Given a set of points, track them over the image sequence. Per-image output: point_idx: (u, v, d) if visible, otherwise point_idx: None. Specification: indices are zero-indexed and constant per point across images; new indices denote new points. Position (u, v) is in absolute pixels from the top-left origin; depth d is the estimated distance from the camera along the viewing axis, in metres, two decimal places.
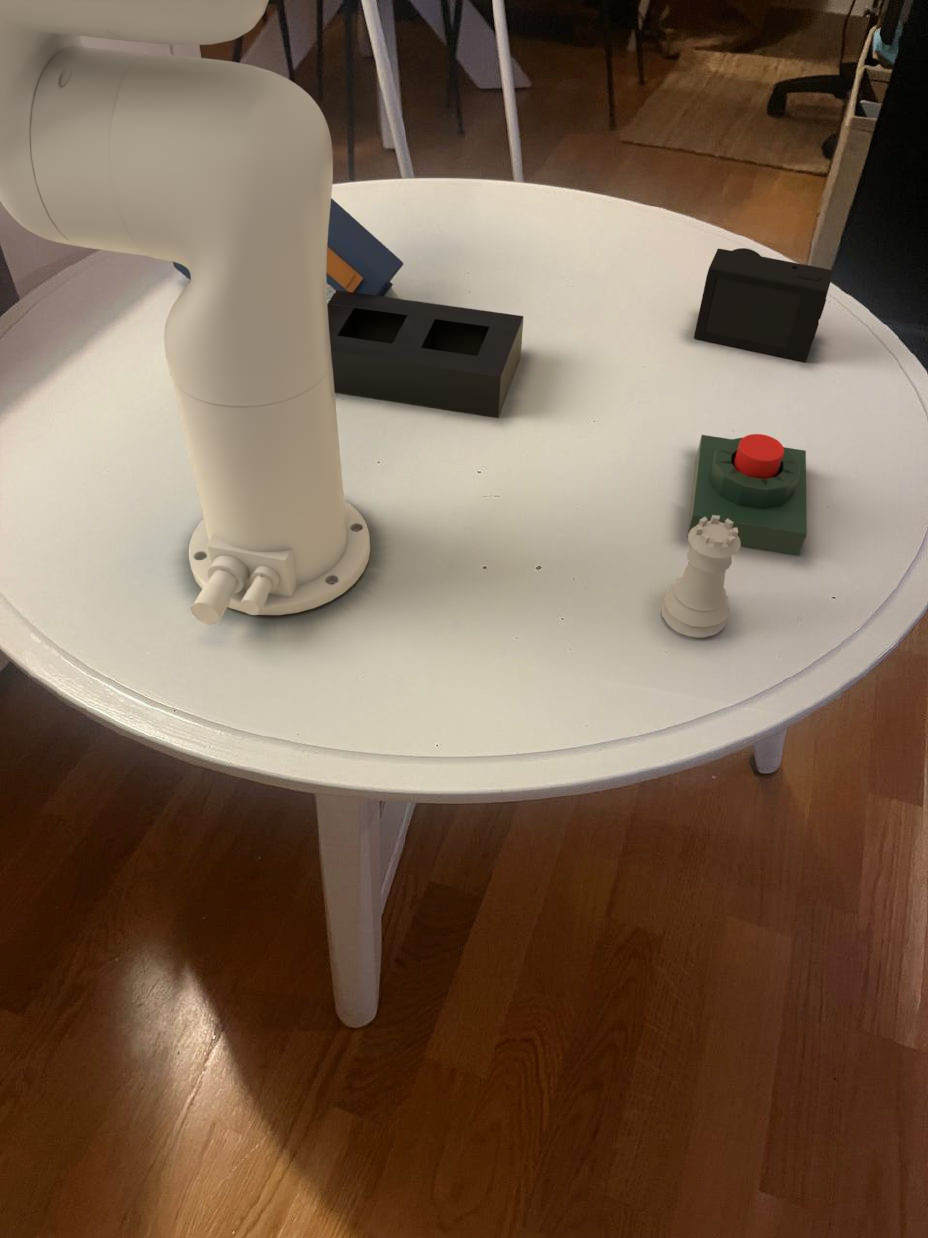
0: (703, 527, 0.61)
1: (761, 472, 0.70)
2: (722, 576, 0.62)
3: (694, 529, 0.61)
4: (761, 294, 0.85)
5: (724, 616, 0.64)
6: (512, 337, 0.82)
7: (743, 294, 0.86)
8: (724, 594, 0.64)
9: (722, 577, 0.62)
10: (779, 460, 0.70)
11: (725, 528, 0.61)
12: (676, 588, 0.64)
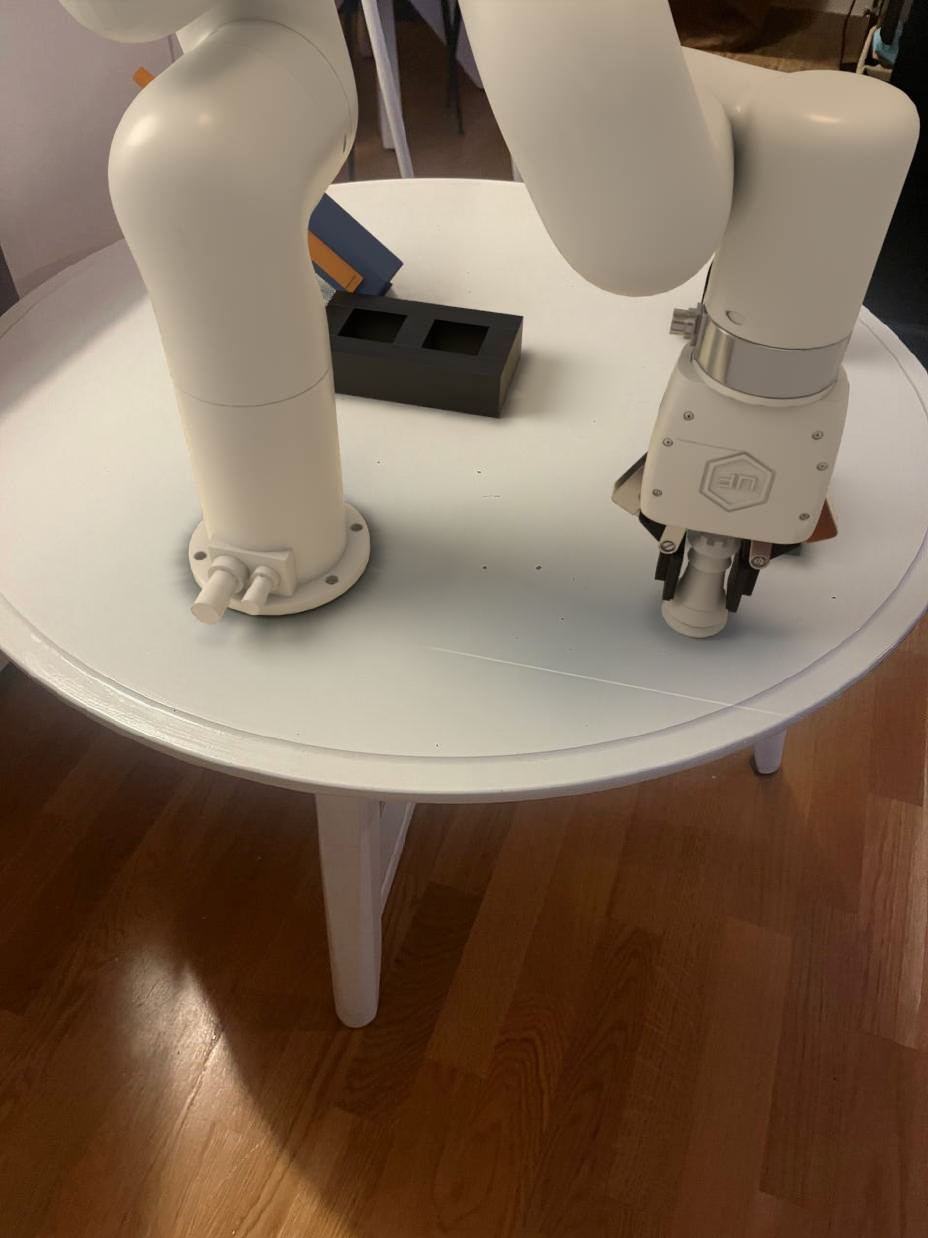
0: None
1: None
2: (722, 576, 0.62)
3: None
4: None
5: (724, 616, 0.64)
6: (512, 337, 0.82)
7: None
8: (724, 594, 0.64)
9: (722, 577, 0.62)
10: None
11: None
12: (676, 588, 0.64)
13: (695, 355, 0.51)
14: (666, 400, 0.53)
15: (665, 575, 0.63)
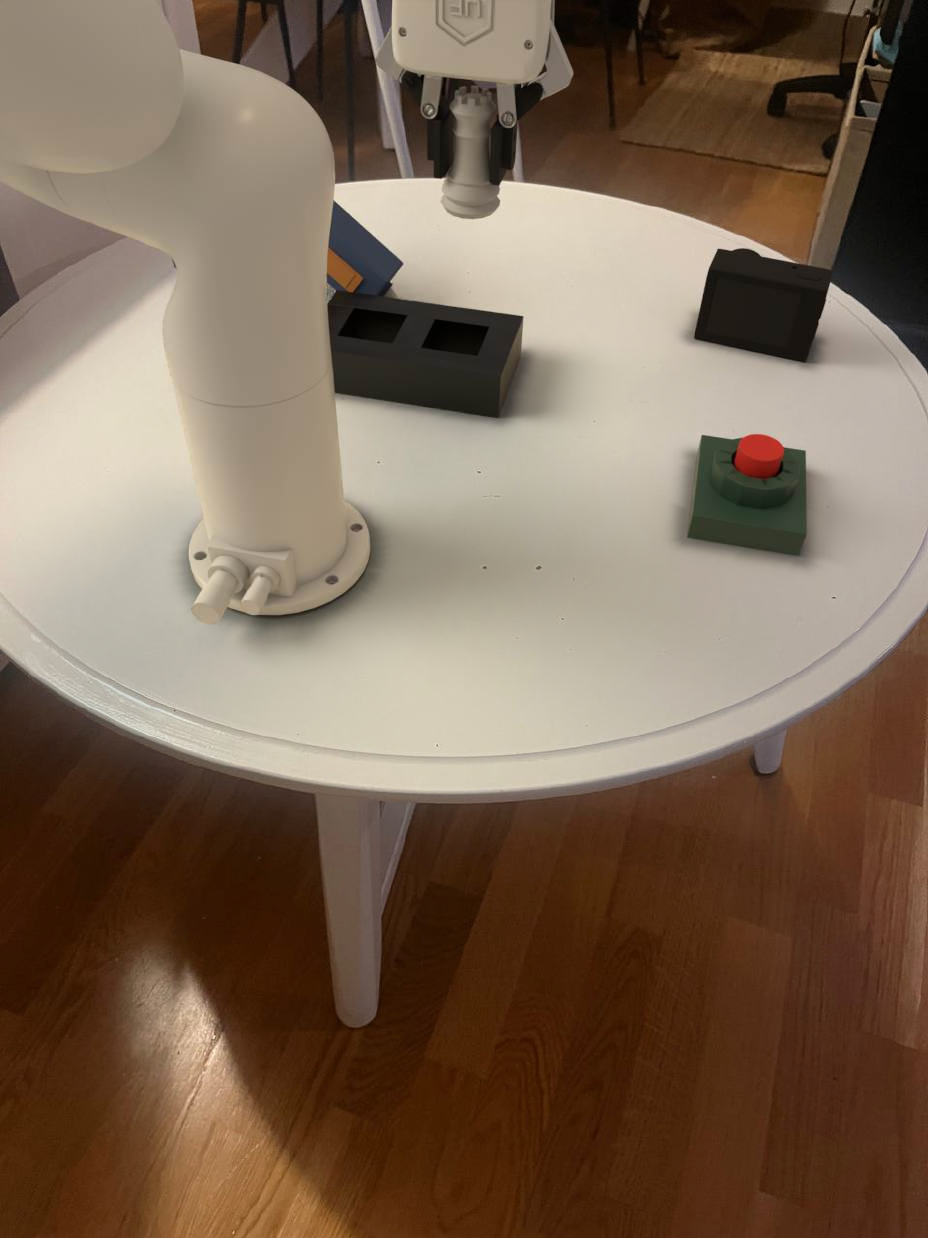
0: (462, 95, 0.68)
1: (761, 472, 0.70)
2: (484, 147, 0.69)
3: (455, 98, 0.68)
4: (761, 294, 0.85)
5: (492, 194, 0.71)
6: (512, 337, 0.82)
7: (743, 294, 0.86)
8: None
9: (484, 148, 0.69)
10: (779, 460, 0.70)
11: (482, 95, 0.67)
12: (450, 170, 0.71)
13: None
14: None
15: None
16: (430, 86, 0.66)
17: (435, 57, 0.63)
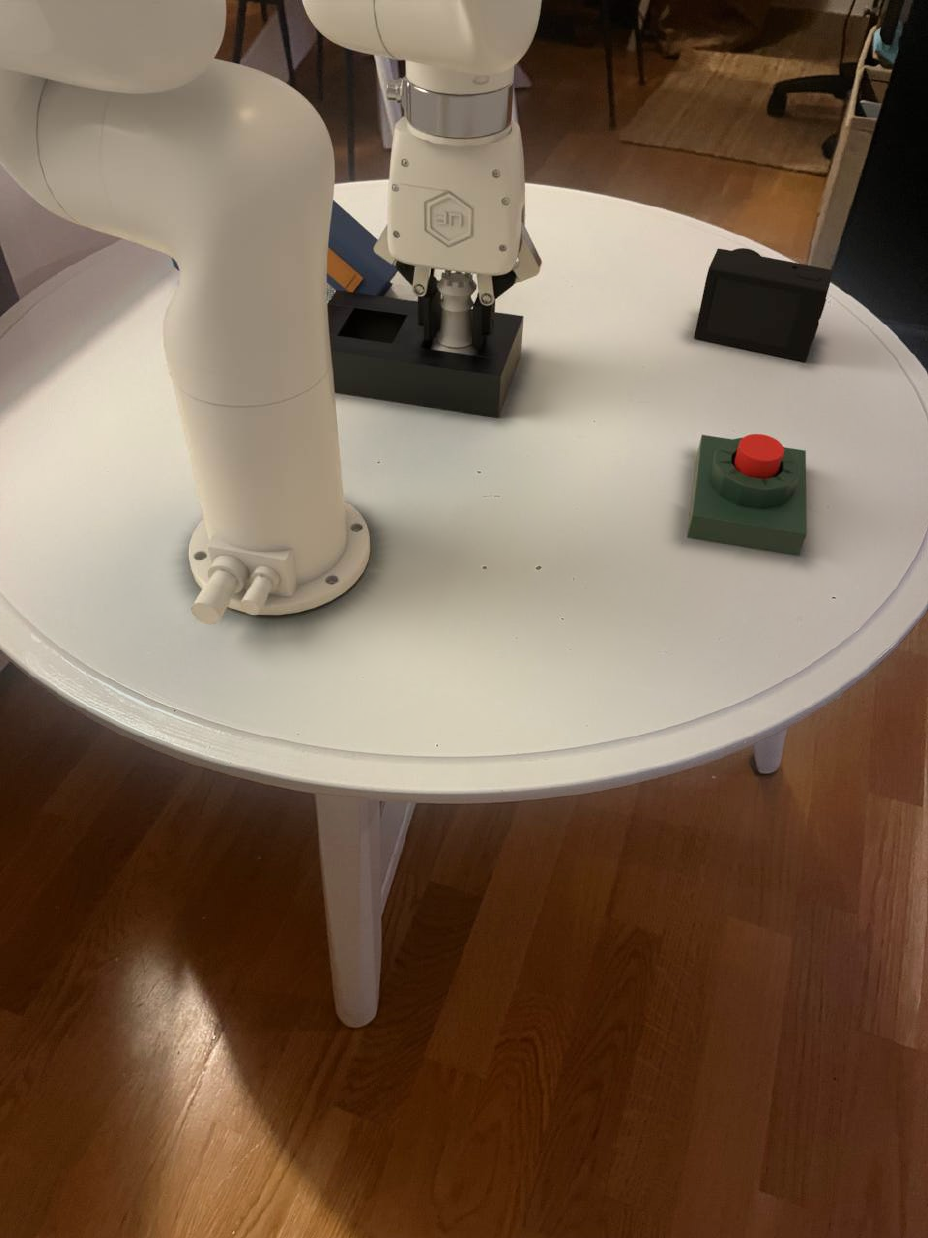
0: (448, 275, 0.79)
1: (761, 472, 0.70)
2: (466, 317, 0.80)
3: None
4: (761, 294, 0.85)
5: (474, 354, 0.82)
6: (512, 337, 0.82)
7: (743, 294, 0.86)
8: None
9: (467, 318, 0.80)
10: (779, 460, 0.70)
11: (464, 276, 0.79)
12: (438, 333, 0.82)
13: (405, 113, 0.69)
14: (391, 153, 0.71)
15: None
16: (420, 272, 0.77)
17: (424, 254, 0.75)
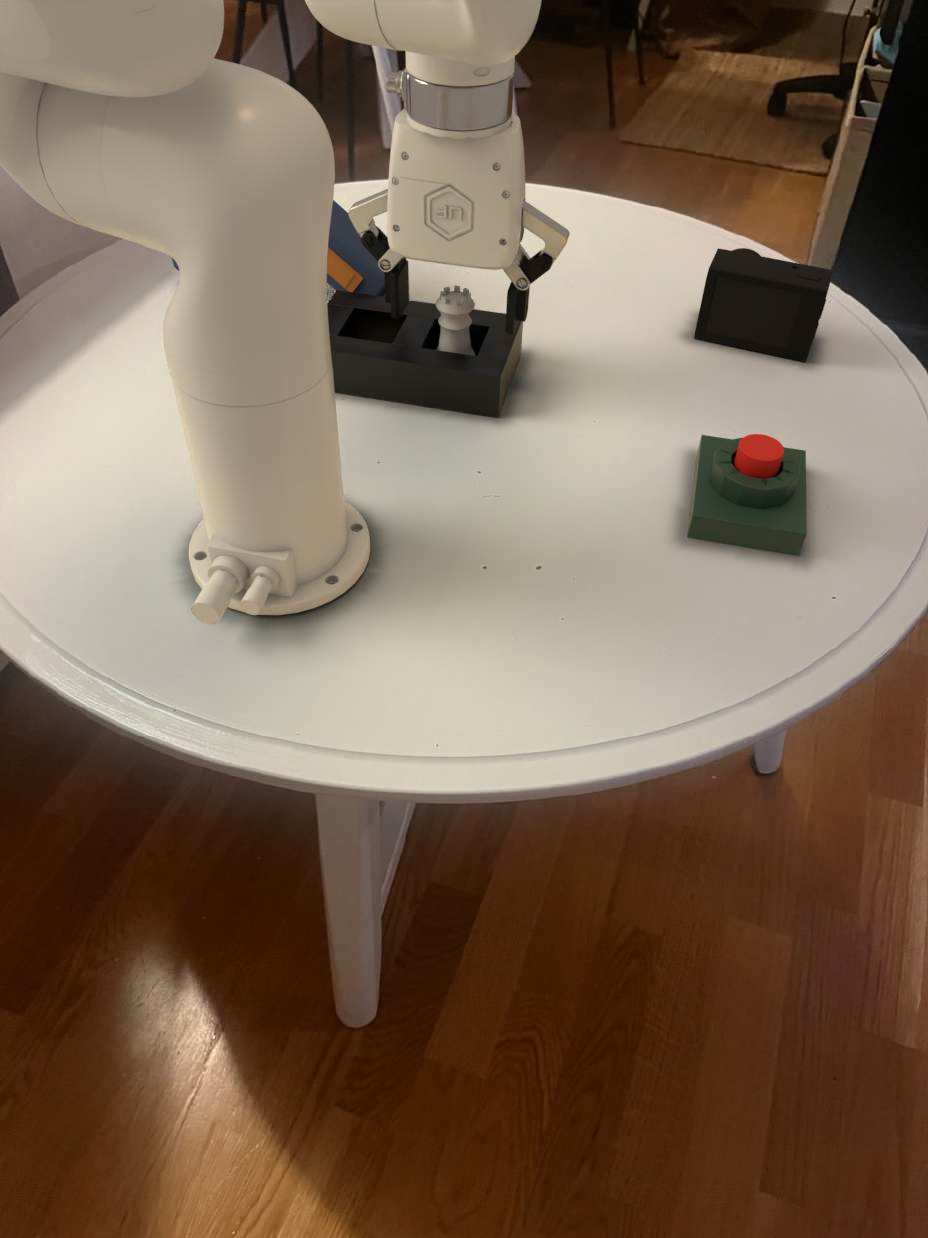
0: (446, 294, 0.80)
1: (761, 472, 0.70)
2: (465, 335, 0.81)
3: None
4: (761, 294, 0.85)
5: None
6: (512, 337, 0.82)
7: (743, 294, 0.86)
8: (472, 354, 0.83)
9: (465, 336, 0.81)
10: (779, 460, 0.70)
11: (463, 294, 0.80)
12: None
13: (405, 106, 0.69)
14: (391, 146, 0.70)
15: None
16: None
17: (424, 248, 0.74)
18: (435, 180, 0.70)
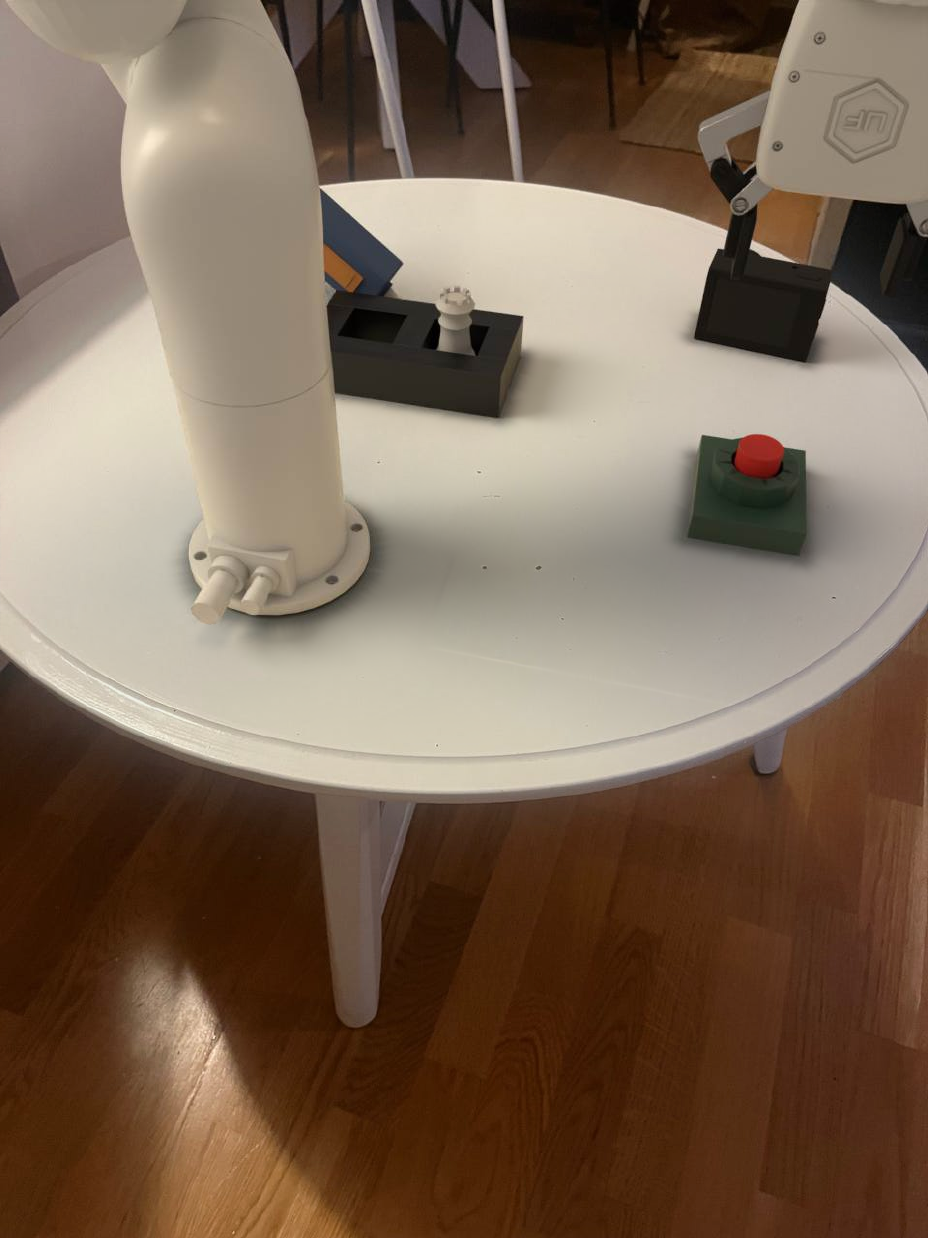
0: (446, 294, 0.80)
1: (761, 472, 0.70)
2: (465, 335, 0.81)
3: None
4: (761, 294, 0.85)
5: None
6: (512, 337, 0.82)
7: (743, 294, 0.86)
8: (472, 354, 0.83)
9: (465, 336, 0.81)
10: (779, 460, 0.70)
11: (463, 294, 0.80)
12: None
13: None
14: (794, 26, 0.50)
15: (735, 249, 0.60)
16: (759, 185, 0.56)
17: (812, 174, 0.54)
18: (858, 73, 0.50)
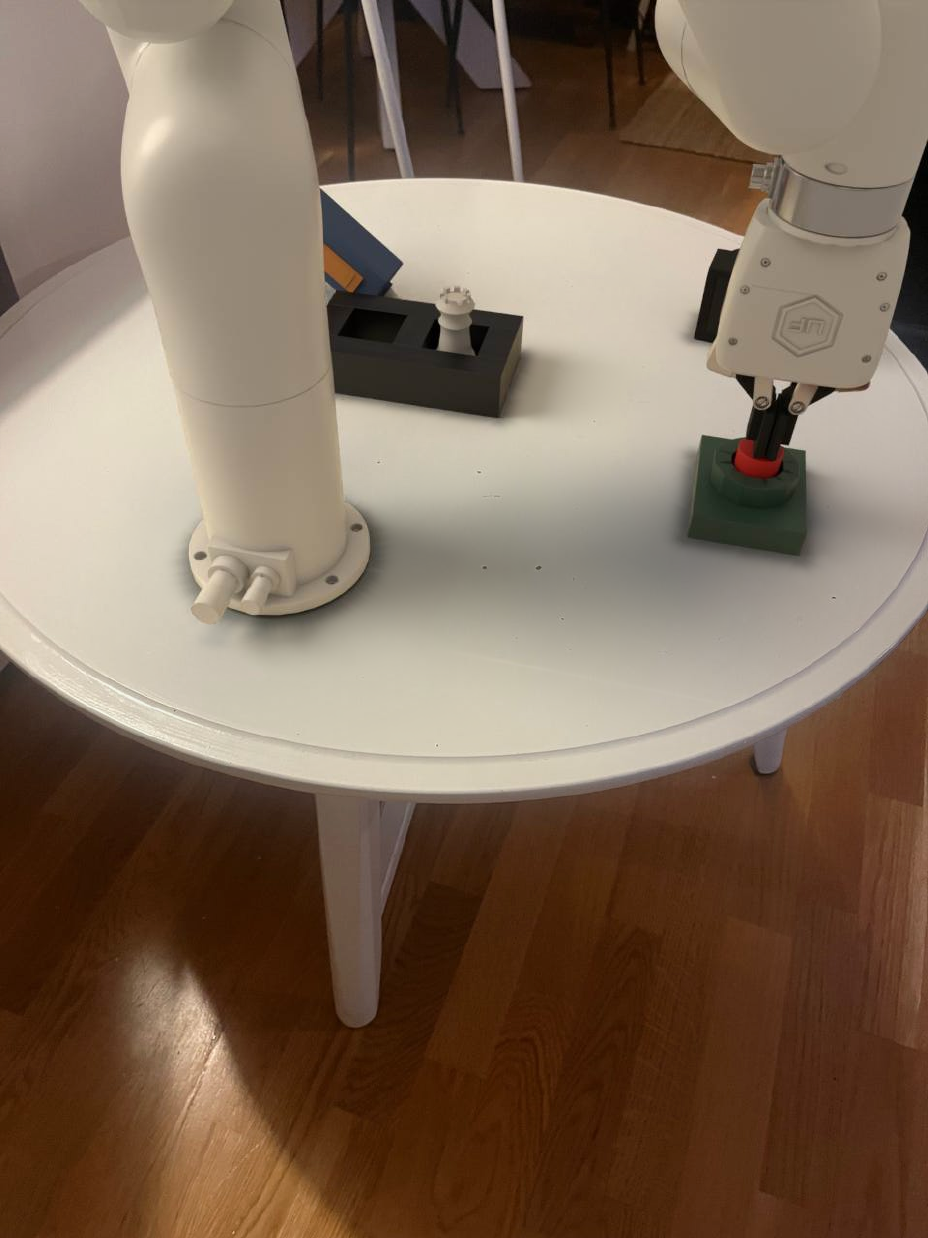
0: (446, 294, 0.80)
1: (761, 474, 0.70)
2: (465, 335, 0.81)
3: None
4: None
5: None
6: (512, 337, 0.82)
7: None
8: (472, 354, 0.83)
9: (465, 336, 0.81)
10: (778, 462, 0.70)
11: (463, 294, 0.80)
12: None
13: (772, 205, 0.57)
14: (744, 250, 0.59)
15: (756, 434, 0.69)
16: (762, 383, 0.65)
17: (763, 364, 0.63)
18: (798, 290, 0.59)
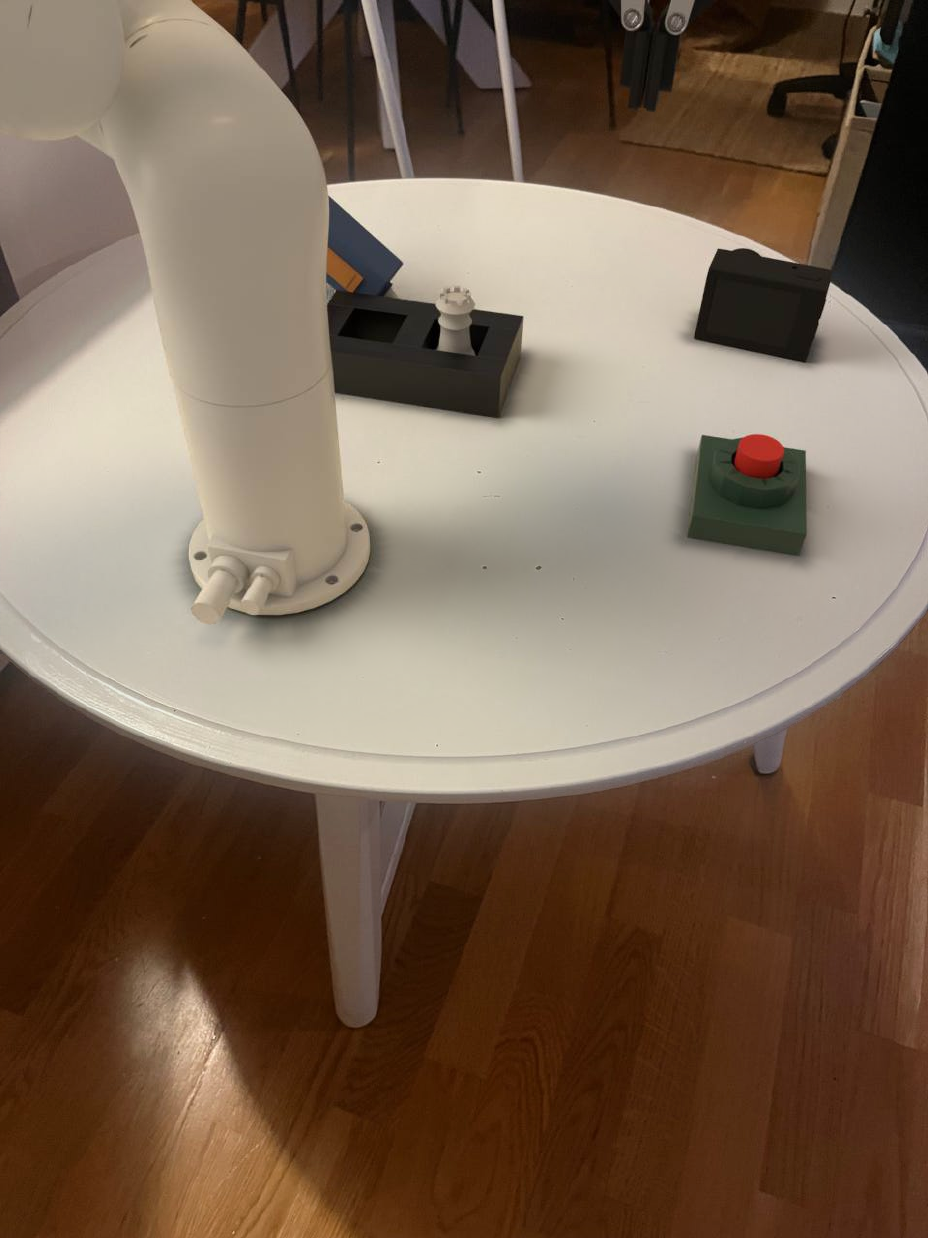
0: (446, 294, 0.80)
1: (761, 472, 0.70)
2: (465, 335, 0.81)
3: None
4: (761, 294, 0.85)
5: None
6: (512, 337, 0.82)
7: (743, 294, 0.86)
8: (472, 354, 0.83)
9: (465, 336, 0.81)
10: (779, 460, 0.70)
11: (463, 294, 0.80)
12: None
13: None
14: None
15: (631, 74, 0.55)
16: None
17: None
18: None
